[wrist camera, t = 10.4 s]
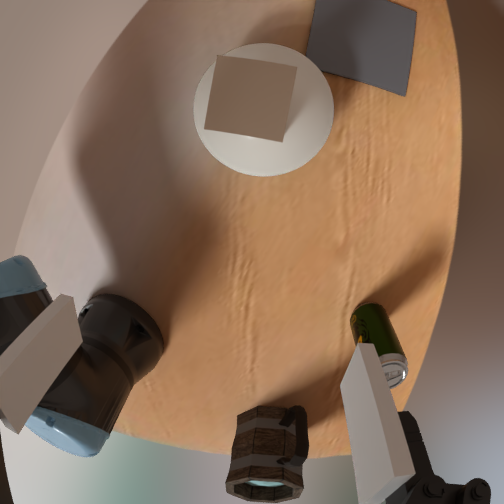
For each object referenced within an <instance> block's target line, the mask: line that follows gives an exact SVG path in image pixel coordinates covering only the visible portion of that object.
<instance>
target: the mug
mask: <svg viewBox="0 0 504 504" xmlns="http://www.w3.org/2000/svg"><path fill="white" fill-rule="evenodd" d="M308 450H309V440H308V427H307V414H306V411H305V410H304V408H303V407H301V406H296V405H295V406H293V407H291V408H289V409H287V408H277V407H262V406H257V407H255V408H253V409H250V410H248V411H246V412H244V413H242V414H240V415H237V430H236V435H235V439H234V442H233V446H232V455H231V464H230V470H229V473H228V477H227V479H226V482H225V483H226V491H227V493H229V494H231V495H233V496H236V497H238V498H241V499H244V500H246V501H253V502H268V503H278V502H282V501H287V500H292V499H296V498H299V497H300V495H301V493H302V491H303V489H304V485H303V478H302V464H303V463H304V461H305V460H306V459H307V456H308Z"/></svg>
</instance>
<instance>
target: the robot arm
mask: <svg viewBox="0 0 504 504" xmlns="http://www.w3.org/2000/svg"><path fill="white" fill-rule="evenodd" d="M46 287H47V285H46V283H45V282H43V281H42V279H41V277H40V276H39V274H38V272H37V270H36V269H35V267H34V265H33V263H32V262H31V261H30V260H29V259H28V258H27V257H25V256H22V255H18V256H14V257H12V258H9V259H7V260H5V261H3V262H1V263H0V419H1V421H2V422H3V423H4V425H5V426H6V427H7V428H9V429H10V430H12V431H13V432H15V433H17V434H19V433H20V431H21V430H22V428H23V426H24V425H26V426H27V427H28V428H29V429H30V430H31V431H32V432H34V433H35V434H36V435H38V436H39V437H41V438H42V439H43V440H45V441H47V442H48V443H50V444H52V445H53V446H55V447H57V448H59V449H61V450H63V451H66V452H68V453H71V454H74V455H77V456H81V457H92V456H95V455H97V454H98V453H99V452H100V450H101V448H102V446H103V445H104V443H105V441H106V440H107V439H108V438H109V436H110V433H111V431H112V429H113V427H114V425H115V423H116V420H117V418H118V416H119V414H120V412H121V410H122V408H123V406H124V404H125V402H126V400H127V398H128V396H129V393H130V391H131V389H132V388H133V386H134V384H136V383H137V382H138V381H139V380H141V379H142V378H143V377H144V376H145V375H147V374H148V373H149V372H150V371H151V370H153V369H154V368H155V366H156V365H157V363H158V361H159V359H160V357H161V355H162V353H163V339H162V335H161V333H160V330H159V328H158V327H157V325H156V323H155V322H154V321H153V319H152V318H151V317H150V316H149V315H148V314H147V313H146V312H145V311H144V310H143V309H142V308H140V307H139V306H138V305H136V304H135V303H133V302H131V301H130V300H128V299H125V298H123V297H120V296H117V295H111V294H103V295H98V296H96V297H94V298H92V299H91V300H90V301H89V302H88V303H87V304H86V305H85V306H84V307H83V308H82V310H81V312H80V314H79V317H78V319H77V314H76V309H75V305H74V299H73V297H71V296H67V295H63V294H61V295H59V296H58V297H57V298H56V299H55V300H54V301H53V300H52V298H51V296H50V294H49V293H48V291H47V289H46ZM340 388H341V394H342V399H343V404H344V410H345V415H346V421H347V427H348V433H349V439H350V445H351V451H352V458H353V464H354V471H355V478H356V486H357V493H358V501H359V504H380V503H382V502H383V501H384V500H386V504H490V498H491V489H490V486H489V485H488V483H487V482H486V481H485V480H483V479H480V478H474V479H473V480H471V481H469V482H468V483H467V484H466V485H458V484H448V483H445V481H444V480H443V479H442V478H441V477H439V476H437V475H435V474H434V473H433V470H432V467H431V464H430V460H429V457H428V455H427V451H426V448H425V445H424V442H423V441H422V440H423V439H422V436H421V433H420V430H419V427H418V424H417V421H416V420H415V418H414V417H413V416H412V415H411V414H410V412H409V411H403V412H397V409H396V406H395V403H394V400H393V397H392V394H391V391H390V388H389V385H388V382H387V379H386V377H385V374H384V371H383V368H382V365H381V363H380V360H379V357H378V354H377V352H376V349H375V346H374V344H368V343H358V344H357V346H356V349H355V351H354V354H353V356H352V359H351V361H350V363H349V366H348V368H347V370H346V373H345V375H344V377H343V380H342V382H341V384H340ZM0 504H14V503H13V499H12V495H11V492H10V487H9V482H8V478H7V473H6V467H5V463H4V456H3V449H2V442H1V434H0Z"/></svg>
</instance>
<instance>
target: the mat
mask: <svg viewBox="0 0 504 504" xmlns="http://www.w3.org/2000/svg"><path fill="white" fill-rule="evenodd" d="M416 13H417V12H415V11H412V10H410V9H408V8H405V7H403V6H400V5H397V4H395V3H392V2H389V1H387V0H316V5H315V10H314V15H313V20H312V26H311V31H310V36H309V41H308V47H307V52H306V57H307V58H308V59H310V60H311V61H312V62H313V63H314V64H315V65H316V66H317V67H318V68H319V70H320V71H323V72H327V73H331V74H335V75H338V76H342V77H346V78H349V79H353V80H356V81H359V82H363V83H366V84H369V85H372V86H375V87H378V88H381V89H384V90H387V91H390V92H393V93H395V94H398V95H401V96H405V95H406V90H407V84H408V78H409V71H410V65H411V58H412V50H413V43H414V34H415V24H416Z"/></svg>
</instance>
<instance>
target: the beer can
mask: <svg viewBox="0 0 504 504" xmlns="http://www.w3.org/2000/svg"><path fill="white" fill-rule="evenodd" d="M350 326H351V330H352V334H353V337H354V341H355V345H356V346H357V344H358V343H368V344H374V346H375V349H376V352H377V354H378V357H379V360H380V363H381V365H382V368H383V371H384V374H385V377H386V379H387V382H388V385H389V388H390V389H392V388H394V387H396V386H398V385H399V384H401V383H402V382H403V381H404V380H405V378H406V376H407V374H408V368H407V365H408V363H407V359H406V357H405V354H404V352H403V349H402V347H401V345H400V342H399V340H398V338H397V335H396V333H395V331H394V328H393V326H392V324H391V322H390V319H389V317H388V315H387V313H386V311H385V309H384V308H383V307H382V306H381V305H379V304H377V303H374V302H367V303H363V304H361V305H359V306H358V307H357V308H356V309H355V310H354V311H353V313H352V316H351V318H350Z"/></svg>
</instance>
